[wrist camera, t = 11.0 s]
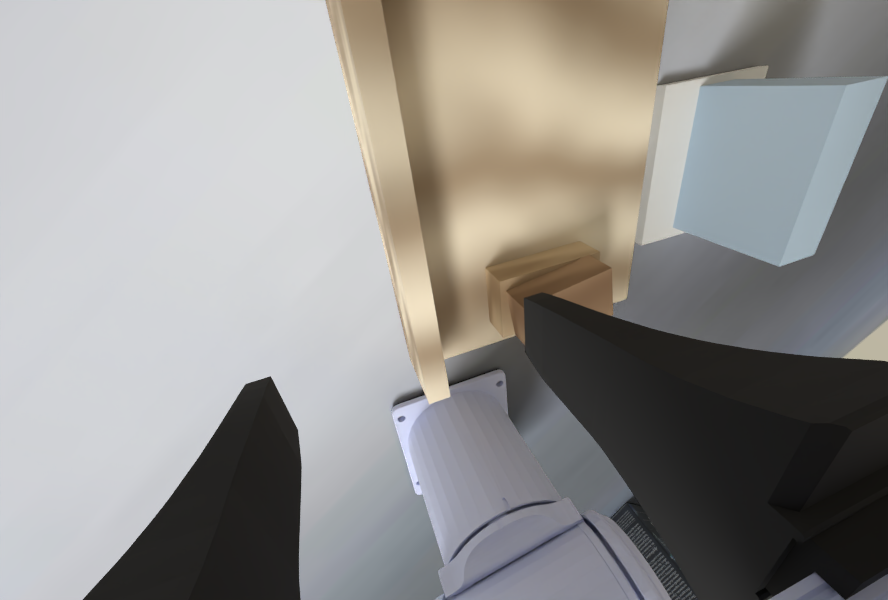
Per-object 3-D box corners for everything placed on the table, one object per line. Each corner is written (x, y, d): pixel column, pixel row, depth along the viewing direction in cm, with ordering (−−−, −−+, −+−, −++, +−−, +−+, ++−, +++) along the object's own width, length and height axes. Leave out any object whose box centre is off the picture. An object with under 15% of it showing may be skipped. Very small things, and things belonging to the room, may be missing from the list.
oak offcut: (576, 293, 24) (595, 307, 22) (489, 321, 23) (503, 337, 21) (579, 240, 22) (600, 251, 20) (485, 267, 21) (499, 281, 19)
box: (660, 506, 47) (744, 603, 38) (630, 536, 48) (704, 636, 39) (626, 500, 43) (711, 606, 34) (594, 533, 44) (668, 643, 35)
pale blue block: (702, 218, 25) (814, 254, 19) (672, 227, 24) (779, 266, 19) (735, 79, 21) (888, 76, 15) (700, 86, 20) (846, 85, 15)
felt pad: (718, 217, 26) (727, 220, 26) (634, 242, 25) (641, 245, 24) (757, 66, 21) (768, 65, 21) (656, 85, 20) (666, 85, 20)
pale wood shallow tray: (616, 292, 26) (675, 330, 22) (410, 359, 23) (434, 418, 19) (662, -82, 16) (785, -139, 12) (313, -53, 13) (320, -117, 9)
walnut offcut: (591, 299, 22) (613, 314, 20) (515, 334, 21) (531, 352, 20) (588, 254, 20) (611, 268, 19) (506, 291, 20) (523, 307, 18)
